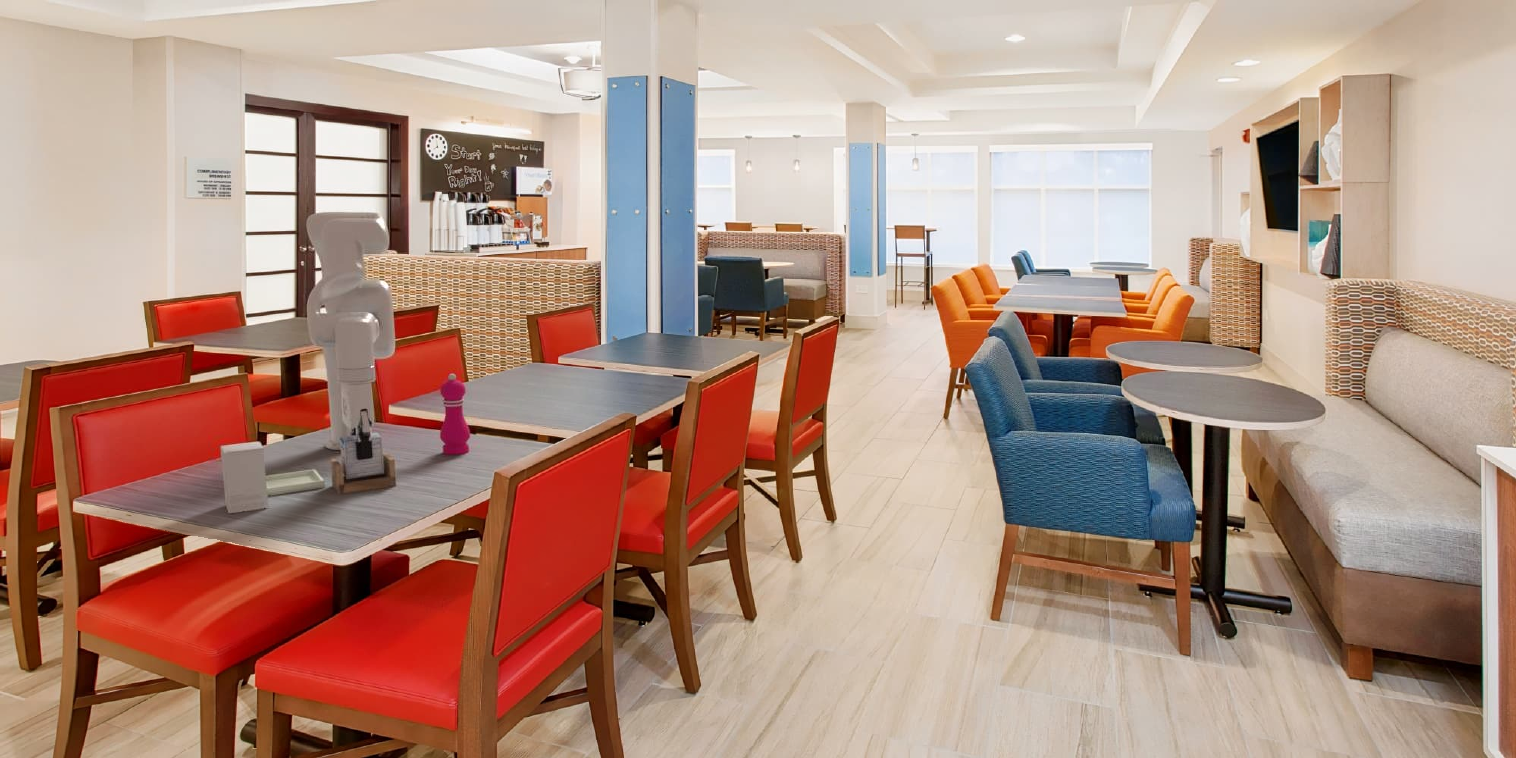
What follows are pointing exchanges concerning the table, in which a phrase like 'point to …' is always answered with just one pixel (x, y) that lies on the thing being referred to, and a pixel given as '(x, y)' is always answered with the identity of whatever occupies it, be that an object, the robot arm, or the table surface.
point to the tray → (294, 482)
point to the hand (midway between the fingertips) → (361, 455)
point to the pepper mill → (454, 418)
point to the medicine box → (361, 467)
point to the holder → (364, 482)
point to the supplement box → (244, 477)
